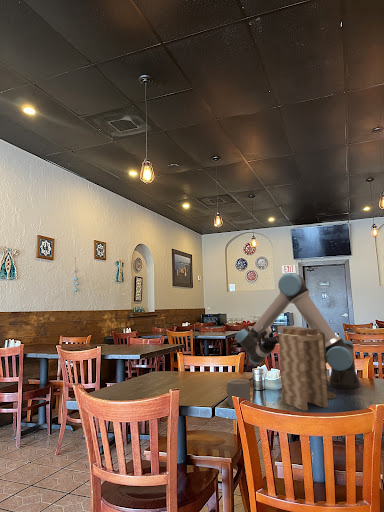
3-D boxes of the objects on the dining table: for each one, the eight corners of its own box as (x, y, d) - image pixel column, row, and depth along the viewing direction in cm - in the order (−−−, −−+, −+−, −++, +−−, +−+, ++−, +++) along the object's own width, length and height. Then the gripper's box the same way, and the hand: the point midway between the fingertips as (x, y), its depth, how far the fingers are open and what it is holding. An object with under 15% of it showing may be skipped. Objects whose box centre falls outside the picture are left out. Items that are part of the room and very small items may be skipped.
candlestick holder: (320, 393, 187) (316, 330, 191) (339, 396, 181) (334, 330, 185) (313, 397, 180) (308, 331, 184) (333, 400, 174) (327, 332, 178)
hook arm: (275, 332, 189) (274, 325, 190) (281, 332, 190) (281, 324, 191) (302, 335, 168) (302, 327, 168) (310, 335, 169) (309, 326, 169)
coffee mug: (254, 405, 170) (253, 382, 171) (234, 408, 167) (232, 384, 168) (241, 399, 183) (239, 377, 184) (221, 401, 179) (220, 379, 181)
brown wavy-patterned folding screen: (282, 401, 175) (278, 328, 179) (305, 398, 179) (300, 327, 183) (303, 410, 160) (298, 330, 164) (328, 407, 164) (322, 329, 167)
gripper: (288, 352, 203) (308, 333, 187) (245, 355, 195) (261, 336, 179) (284, 338, 207) (302, 319, 191) (241, 342, 200) (257, 322, 184)
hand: (282, 327), depth 185 cm, fingers open, 13 cm apart
